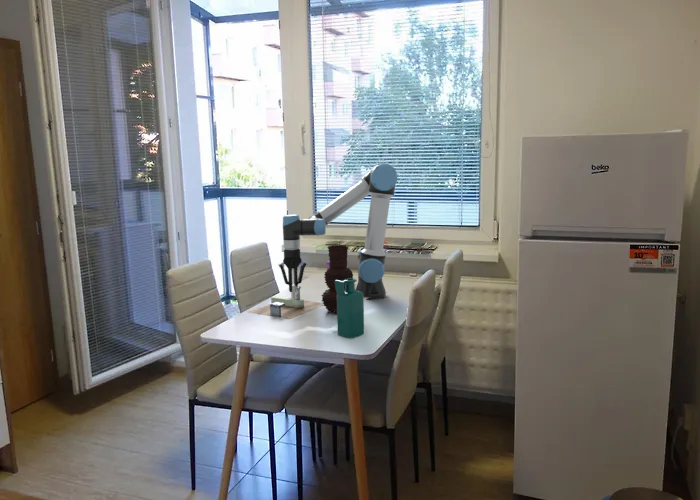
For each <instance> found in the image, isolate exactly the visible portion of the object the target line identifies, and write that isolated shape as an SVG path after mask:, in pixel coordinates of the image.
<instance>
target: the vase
mask: <svg viewBox="0 0 700 500" xmlns="http://www.w3.org/2000/svg"><path fill="white" fill-rule="evenodd" d="M348 249H349V245H346V244H345V245H344V244H338V245H337V244H335V245H333V244H332V245H329V246H327V251H328V261H329V262H330V263H329V265H330V268H329V269H327V268H326V271H325V272H324V277H323V279H324V283H325V284H326V287H327V288H328V289H326V290H324V292H323V293H322V294H321V302H322V303H323V304H324V305H323V307H325V309H326V310H327V312H329V314H330V313H331V314H334V315H337V292H336V289H335V280H340V281H343V280H344V279H347V278H353V279H354V274H353V271H352V270H351V269H350V268H349V267H348V268H347V263H348ZM344 290H345V284H344Z"/></svg>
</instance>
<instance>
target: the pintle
mask: <svg viewBox="0 0 700 500" xmlns="http://www.w3.org/2000/svg"><path fill="white" fill-rule="evenodd" d="M295 289H296V300H300V299H301V289H302V286H300V285H298V286H296V287H295Z"/></svg>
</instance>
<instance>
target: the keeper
mask: <svg viewBox="0 0 700 500" xmlns="http://www.w3.org/2000/svg"><path fill="white" fill-rule="evenodd" d="M284 306H285V303H279V302H274V303H272V304H271V303H270V315H271V316H270V317H273V316H277V317H276V318H279V317H281V307H284Z"/></svg>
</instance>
